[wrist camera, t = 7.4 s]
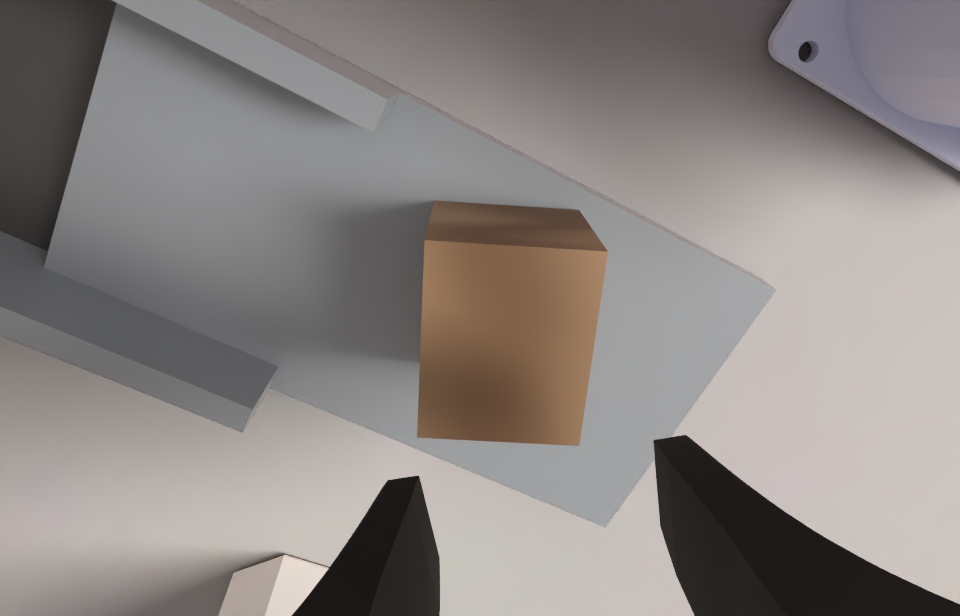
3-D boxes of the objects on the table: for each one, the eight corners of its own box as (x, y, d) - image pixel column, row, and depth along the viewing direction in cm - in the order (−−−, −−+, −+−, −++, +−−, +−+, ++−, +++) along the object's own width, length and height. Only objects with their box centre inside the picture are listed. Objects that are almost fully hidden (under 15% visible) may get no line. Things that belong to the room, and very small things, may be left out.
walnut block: (579, 209, 18) (607, 251, 14) (558, 371, 20) (579, 446, 16) (434, 200, 18) (424, 239, 14) (427, 363, 19) (416, 437, 16)
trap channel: (762, 278, 20) (819, 324, 16) (599, 508, 23) (621, 584, 20) (-155, -202, 15) (-329, -273, 12) (-201, 169, 18) (-349, 195, 15)
